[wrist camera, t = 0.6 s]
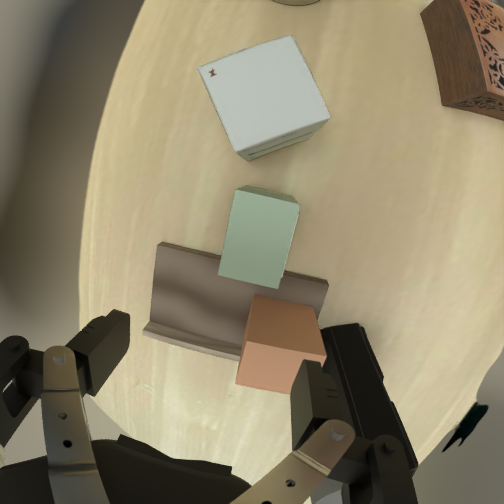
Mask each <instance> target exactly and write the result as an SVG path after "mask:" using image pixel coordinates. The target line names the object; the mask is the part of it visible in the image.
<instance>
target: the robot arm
mask: <svg viewBox="0 0 504 504" xmlns="http://www.w3.org/2000/svg"><path fill="white" fill-rule="evenodd" d="M274 1H276V2H279V3H283V4H288V5H307V4H311V3H315V2H317V1H319V0H274ZM129 343H130V315H129V314H128V313H125V312H122V311H119V310H116V309H113V310H112V311H111V312H110V313H109V314H108V315H107V316H106V317H105V316H100V317H97V318H95V319H93V320H92V321H90V322H89V323H88V324H87V326H85V327H84V328H83V329H82V331H80V332H79V333H78V334H77V335H76V336H75V337H74V338H73V339H72V340H71V341H70V342H68V343H67V344H66V345H65V346H53V347H50V348H48V349H47V350H46V351H45V352H42V351H37V350H33V349H30V347H29V343H28V341H27V340H26V339H25V338H24V337H22V336H10V337H7V338H6V339H4V340H3V341H2V342H1V343H0V504H303V503H304V502H305V501H306V500H307V499H308V497H309V496H310V495H311V494H312V493H313V492H314V491H315V490H316V489H317V487H318V486H319V485H320V484H321V483H322V482H323V480H324V479H325V478H329V479H332V480H336V481H339V482H343V495H344V504H418V501H417V497H416V492H415V488H414V484H413V480H412V476H411V473H410V469H409V465H408V461H407V458H406V454H405V451H404V447H403V445H402V443H401V442H400V441H399V440H398V439H397V438H396V437H394V436H391V435H380V436H378V437H377V438H376V439H375V440H374V441H372V440H368V439H365V438H362V437H359V436H356V435H355V432H354V430H353V428H352V427H351V426H350V425H349V424H347V423H346V422H344V419H343V415H342V410H341V406H340V401H339V398H338V393H337V389H336V384H335V381H334V380H333V379H332V377H331V376H330V375H329V374H326V373H323V371H322V366H321V362H319V361H313V360H307V359H304V360H303V361H302V363H301V365H300V368H299V370H298V372H297V375H296V377H295V380H294V382H293V384H292V388H291V393H290V400H291V425H292V452H291V453H290V454H289V455H288V456H287V457H286V458H285V459H284V460H283V461H281V462H280V463H279V464H278V465H277V466H276V467H275V468H273V469H272V470H271V471H270V472H269V473H268V474H267V475H265V476H264V477H263V478H262V479H261V480H259V481H258V482H257V483H256V484H254V485H253V486H251V485H250V484H249V483H247V482H246V481H244V480H243V479H241V478H239V477H237V476H235V475H233V474H231V471H232V466H226V465H221V464H217V463H212V462H208V461H203V460H185V459H174V458H171V457H169V456H167V455H165V454H163V453H162V452H160V451H158V450H156V449H155V448H153V447H151V446H149V445H148V444H146V443H143V442H140V441H138V440H135V439H132V438H130V437H127V436H124V435H122V434H120V436H119V438H118V440H109V439H101V440H92V436H91V433H90V429H89V425H88V420H87V416H86V411H85V407H84V402H83V397H84V395H85V394H86V393H87V394H89V395H91V396H94V397H95V396H96V394H97V393H98V391H99V390H100V388H101V387H102V386H103V384H104V383H105V381H106V380H107V379H108V377H109V376H110V374H111V373H112V372H113V370H114V369H115V368H116V366H117V365H118V363H119V362H120V361H121V359H122V358H123V357H124V355H125V354H126V352H127V350H128V347H129ZM11 380H12V381H13V382H12V383H11V384H10V385H9V386H8V387H7V389H6V390H5V391H4V392H3V390H4V388H5V387H6V385H7V384H8V383H9V382H10V381H11ZM39 398H40V399H41V407H42V420H43V430H44V437H45V445H46V452H47V455H45V456H42V457H38V458H35V459H31V460H27V461H23V462H19V463H15V464H11V465H7V466H5V464H4V461H5V450H4V447H5V446H6V444H7V443H8V441H9V439H10V438H11V437H12V435H13V434H14V432H15V431H16V429H17V428H18V427H19V425H20V424H21V422H22V421H23V419H24V418H25V417H26V415H27V414H28V412H29V411H30V410H31V408H32V407H33V406H34V404H35V403H36V402H37V400H38V399H39Z"/></svg>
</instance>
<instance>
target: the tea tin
mask: <svg viewBox="0 0 504 504" xmlns="http://www.w3.org/2000/svg"><path fill="white" fill-rule="evenodd" d="M299 207H300V204H299V203H298V202H297V201H296V200H295V199H294V198H293V197H292V196H290V195H286V194H282V193H278V192H273V191H269V190H265V189H260V188H256V187H252V186H244V187H241V188H238V189H236V190H235V194H234V199H233V203H232V208H231V213H230V217H229V222H228V227H227V232H226V237H225V242H224V246H223V251H222V256H221V261H220V266H219V272H218V275H220V276H224V277H228V278H232V279H236V280H241V281H245V282H249V283H253V284H258V285H262V286H266V287H271V288H275V289H278V287H279V283H280V280H281V277H282V276H283V273H284V269H285V265H286V261H287V258H288V254H289V250H290V246H291V243H292V239H293V235H294V231H295V227H296V223H297V219H298V215H299V212H298V211H299Z"/></svg>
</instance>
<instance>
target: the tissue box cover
mask: <svg viewBox="0 0 504 504" xmlns="http://www.w3.org/2000/svg"><path fill="white" fill-rule="evenodd" d="M420 15H421V18H422V21H423V24H424V27H425V31H426V34H427V38H428V41H429V45H430V49H431V52H432V57H433V61H434V65H435V70H436V74H437V79H438V84H439V90H440V96H441V102H442V106H446V107H451V108H456V109H461V110H465V111H470V112H474V113H478V114H482V115H485V116H489V117H493V118H496V119H500V120H503V121H504V8H502V7H501V6H499V5H497V4H495V3H493V2H492V1H490V0H434V1H433V2H432V3H431V4H429V5H428V6H427V7H426V8H425V9H424V10H423V11H422V12H421V13H420Z"/></svg>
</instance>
